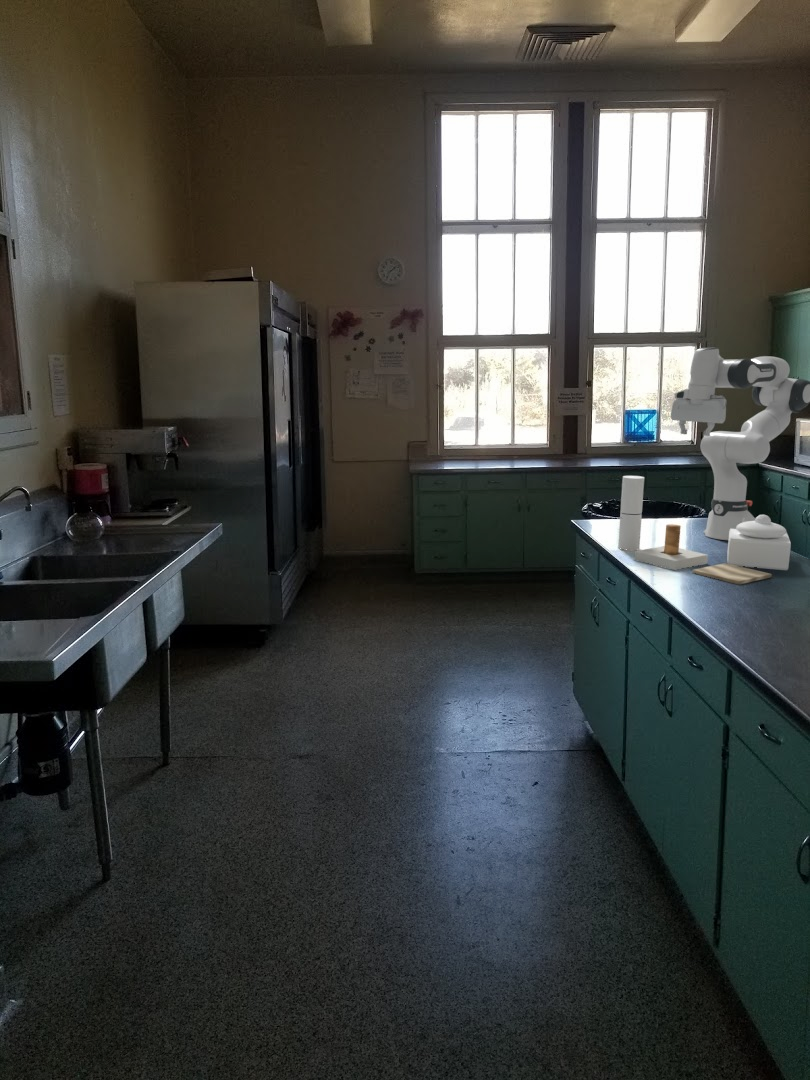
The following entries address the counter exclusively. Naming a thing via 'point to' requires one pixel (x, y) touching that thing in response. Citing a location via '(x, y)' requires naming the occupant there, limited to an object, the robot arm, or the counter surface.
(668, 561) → the socket block
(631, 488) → the cylindrical container
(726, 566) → the board
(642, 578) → the counter surface
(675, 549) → the plug
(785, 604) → the counter surface
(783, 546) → the butter dish
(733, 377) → the robot arm
